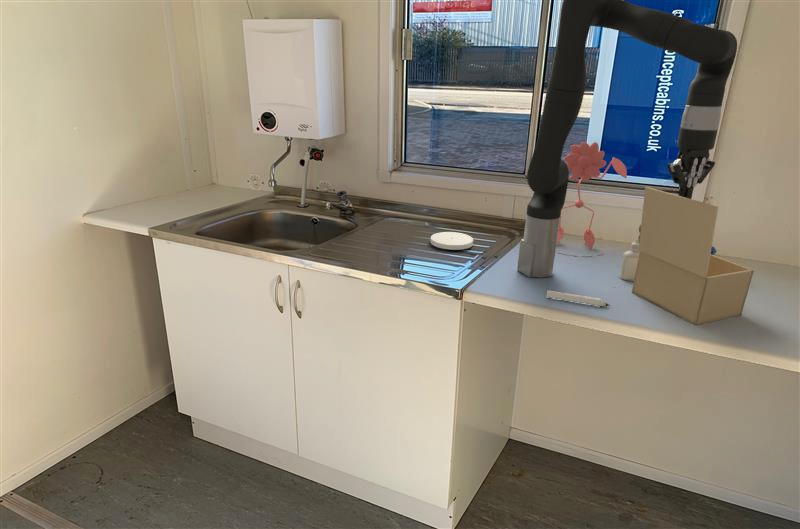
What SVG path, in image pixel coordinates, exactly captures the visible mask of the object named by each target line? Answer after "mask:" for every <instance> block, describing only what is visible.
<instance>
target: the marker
mask: <svg viewBox="0 0 800 529" xmlns="http://www.w3.org/2000/svg"><path fill="white" fill-rule="evenodd" d="M546 291H547V292H546V296H545V298H546V297H548V298H555V299H561V300H566V301H573V302H579V303H586V304H591V305H597V306H604V307H612V305H611V304H608V302H605V301H603V300H602V299H601V298H598V297H593V296H585V295H581V294H573V293H567V292H561V291H554V290H549V289H548V290H546Z"/></svg>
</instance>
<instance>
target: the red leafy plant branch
mask: <svg viewBox="0 0 800 529" xmlns="http://www.w3.org/2000/svg"><path fill="white" fill-rule="evenodd" d="M599 147H600V146H599V144H598V142H597V141H595V142H593V143H591V144H590V145H589V143H587V142H585V141H582V142H580V145H578V144H572V145H570V152H571V153H568V154H567V155H566V156H564V158H563V159H564V160H563V161H564V162H565V163H566V164H567V166H568V170H569V172H571V173H570V174H571V175H569V179H570V178H571V179H572V180H574V181H576V180H578V179H579V178H580V179H579V181H578V182H577V183H576V184H577V185H576V186H577V187H576V188H577V194H578V196H577V197H578V199H577V200H575V203H574V204H571V205H568V206H565V207H564V206H563V208H562V210H563V209H567V208H570V207H574V206H575V207H576V208H578V209H581V208H583V207H584V208H585V209H587V210H589V211H591V212H592V216H591V219H590V223H589V227H588V228H586V229H585V230H584V233H583V240H584V245H585V244H586V245H587V247H588V248H590V250H592V249H593V247H594V244H595V234H594V233H593V231H592V230H591V226H592V222H593V219H594V218H593V217H594V214H595V211H594V210H593V209H590V208H589V207H587V206H586V205H584V201H583V200H582V199H581V192H580V191H581V190H580V184H581V182H582V180H583V181H585V182H588V181H590V180H591V178H592V179H598V180H602V179H603V178H604V177H605V175H606V174H607V172H608V170H609V169H610V167H611V166H612V167H613V169H614V171H615V172H616V174H618V175H619V176H621V177H622V178H624V179H627V177H628V175H627V174H628V170H627V168H626V167H627V166H626V165H625V164H624V163H623V161H621V159H619V158H616V157H614V156H613V157H612V160H611V161H610V162H609V164H608V165H607V161H606V160H604V157H605V151H604V150H600V148H599ZM606 165H607V167H606ZM604 167H606V168H605V170H604V172H603V174H601V170H600V169H602V168H604ZM561 220H562V214H561V215H560V222H559V229H558V236H557V243H556V244H558V243H559V242H560V241H561V240H562V239H563V237H564V234H565V230H564V227H563V226H561V225H562V224H561ZM559 254H561V255H562V253H561V252H559ZM563 255H564V256H565V255H566V256H567V254H564V253H563ZM603 255H604V253H602V254H600V255H599V254H598V255H597V257H601V256H603ZM568 256H569V257H570V256H571V257H574V258H575V257H576V258H577V255H570V254H568ZM592 256H593V255H592ZM592 256H591V255H590V256H589V255H588V256H585V255H582V257H581V258H587V257H589V258H593V257H592Z"/></svg>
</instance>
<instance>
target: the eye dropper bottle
mask: <svg viewBox="0 0 800 529" xmlns="http://www.w3.org/2000/svg"><path fill="white" fill-rule="evenodd" d="M630 244H631V245H630V250H627V251H625V252H624V253H623V255H622V260H621V265H620V270H619V275H618V277H619V278H620V279H621V280H623V281H629V282H630V281H631V282H632V281H633V282H634V279H635V274H636V269H637V264H638V259H639V254H640V251H639V239H638V238H635V240H634V242H631V243H630Z"/></svg>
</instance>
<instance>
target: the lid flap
mask: <svg viewBox="0 0 800 529" xmlns="http://www.w3.org/2000/svg"><path fill="white" fill-rule="evenodd" d="M642 205H643V206H642V215H641V222H640V223H641V224H640V225H641V231H640V232H639V234H640V241H639V251H642V252H644V253H647V254H649V255H651V256H654V257H656V258H658V259H661V260H663V261H666V262H668V263H670V264H673V265H675V266H678V267H680V268H682V269H685V270H687V271H690V272H692V273H694V274H697V275H699V276H701V277H704V278H706V277H707V273H708V267H709V261H710V254H711V248H712V246H713V242H714V235H715V228H716V224H717V216H718V211H719V210H718V209H719V206H717V205H713V204H710V203H706V202H703V201H699V200H695V199H692V198H691V199H689V198H685V197H682V196H678V194H674V193H671V192H667V191H663V190H660V189H658V188H657V189H656V188H654V187H653V188H652V187H650V186H645V187H644V195H643V204H642Z"/></svg>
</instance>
